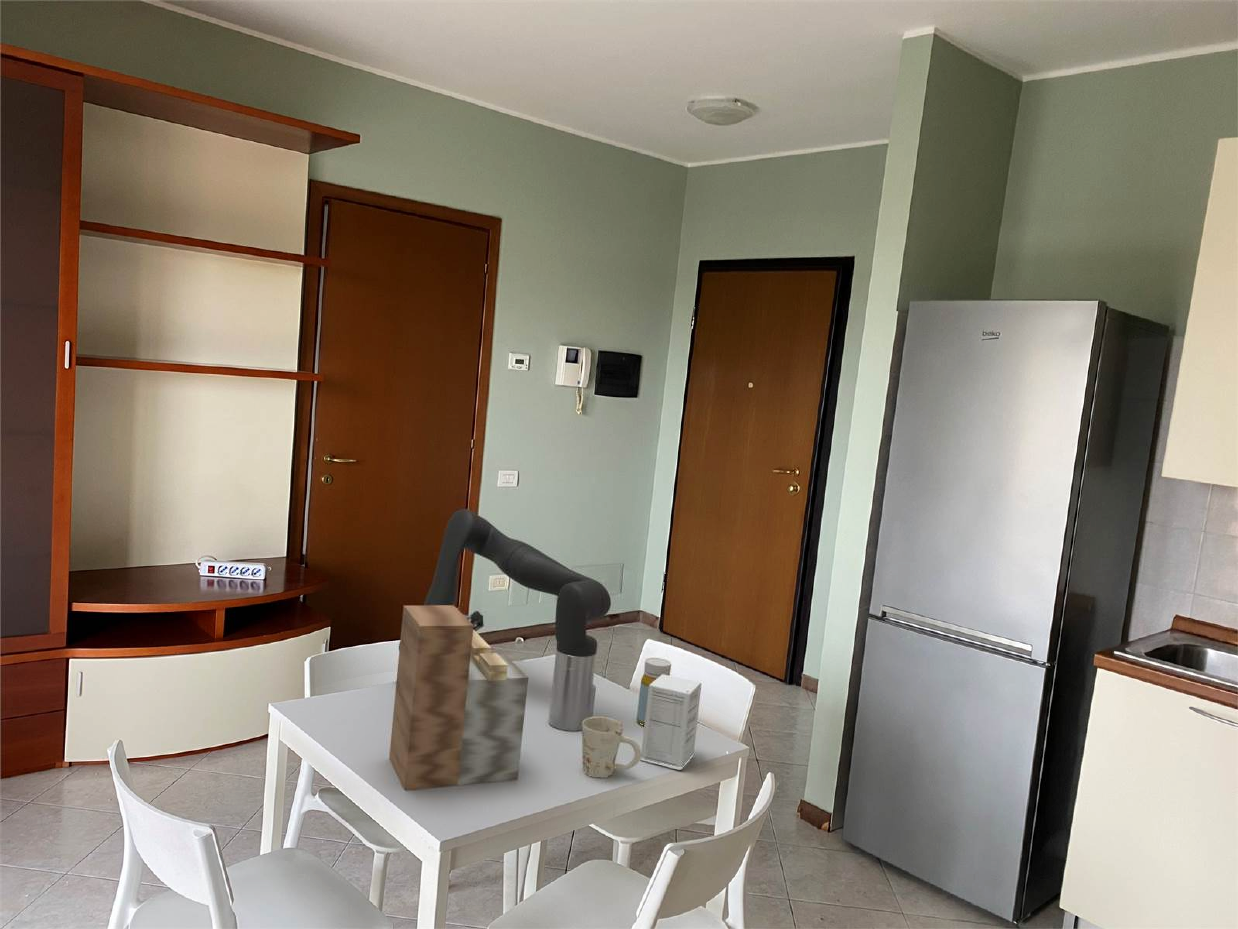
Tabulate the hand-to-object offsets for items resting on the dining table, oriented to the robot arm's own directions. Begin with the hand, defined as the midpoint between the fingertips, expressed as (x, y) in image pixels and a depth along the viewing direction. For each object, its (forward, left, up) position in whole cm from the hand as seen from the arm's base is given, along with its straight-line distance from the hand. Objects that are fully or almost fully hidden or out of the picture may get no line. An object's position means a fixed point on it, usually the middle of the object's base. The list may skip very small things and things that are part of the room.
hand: (458, 615), depth 196 cm
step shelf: (+5, +21, -25) cm, 33 cm away
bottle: (-47, +6, -25) cm, 54 cm away
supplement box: (-41, +25, -25) cm, 55 cm away
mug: (-25, +29, -25) cm, 46 cm away
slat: (0, +17, -4) cm, 17 cm away
